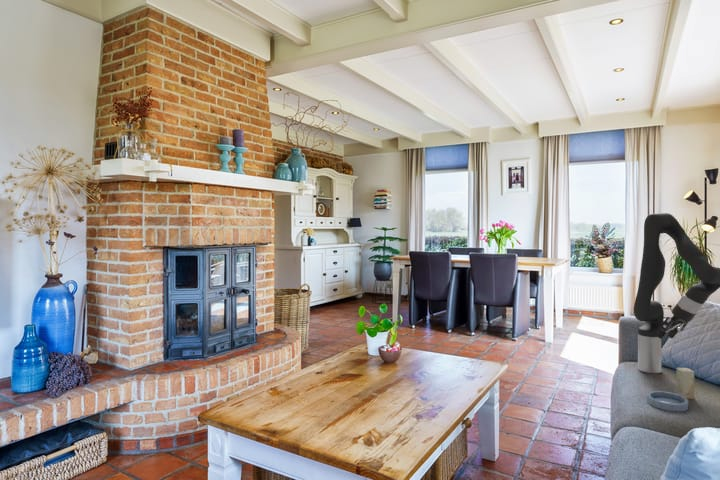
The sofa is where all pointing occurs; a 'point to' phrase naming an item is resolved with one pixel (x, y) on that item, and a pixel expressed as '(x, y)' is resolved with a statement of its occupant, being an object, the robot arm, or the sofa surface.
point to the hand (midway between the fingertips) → (664, 337)
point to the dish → (667, 401)
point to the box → (685, 383)
